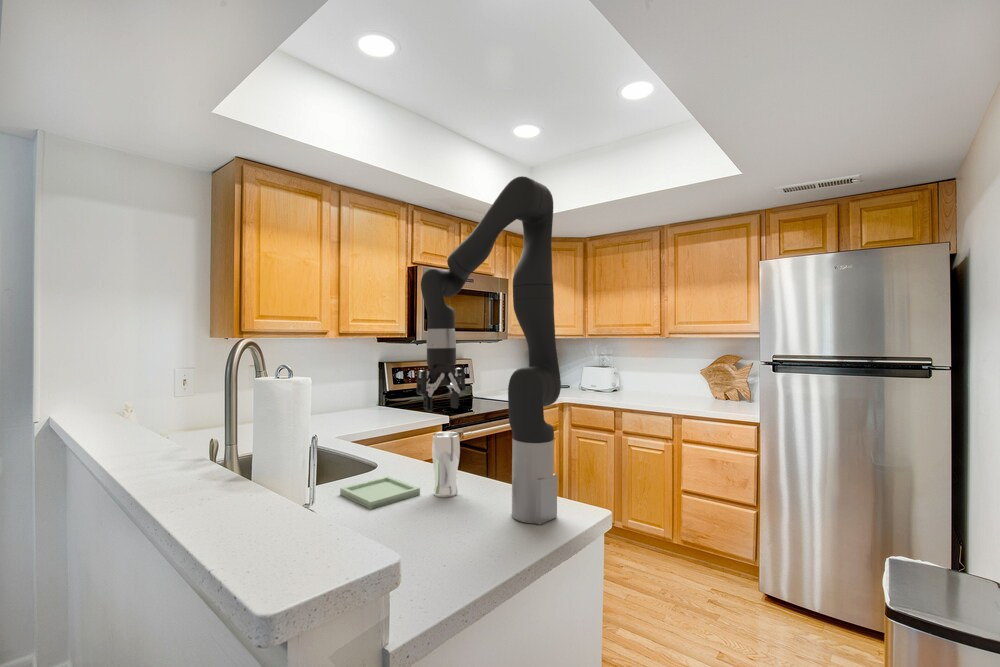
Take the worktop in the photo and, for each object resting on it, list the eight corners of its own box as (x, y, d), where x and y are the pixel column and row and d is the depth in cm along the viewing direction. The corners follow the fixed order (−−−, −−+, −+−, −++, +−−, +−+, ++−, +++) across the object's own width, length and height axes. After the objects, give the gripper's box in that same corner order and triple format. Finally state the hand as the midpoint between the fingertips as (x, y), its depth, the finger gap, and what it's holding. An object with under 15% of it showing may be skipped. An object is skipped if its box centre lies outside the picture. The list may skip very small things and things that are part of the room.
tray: (419, 494, 119) (420, 488, 119) (370, 509, 109) (370, 502, 109) (388, 482, 129) (388, 476, 129) (340, 494, 119) (340, 488, 119)
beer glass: (427, 496, 118) (427, 436, 118) (438, 487, 124) (439, 430, 124) (453, 499, 116) (453, 438, 116) (463, 490, 122) (464, 432, 122)
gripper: (428, 347, 115) (428, 414, 115) (471, 346, 125) (472, 407, 125) (409, 347, 120) (410, 411, 120) (452, 346, 130) (453, 405, 130)
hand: (441, 409), depth 122 cm, fingers open, 8 cm apart
